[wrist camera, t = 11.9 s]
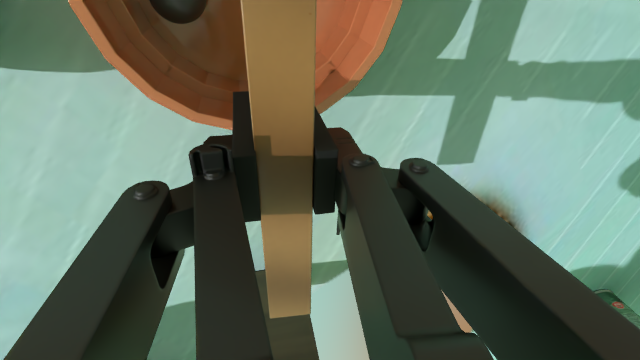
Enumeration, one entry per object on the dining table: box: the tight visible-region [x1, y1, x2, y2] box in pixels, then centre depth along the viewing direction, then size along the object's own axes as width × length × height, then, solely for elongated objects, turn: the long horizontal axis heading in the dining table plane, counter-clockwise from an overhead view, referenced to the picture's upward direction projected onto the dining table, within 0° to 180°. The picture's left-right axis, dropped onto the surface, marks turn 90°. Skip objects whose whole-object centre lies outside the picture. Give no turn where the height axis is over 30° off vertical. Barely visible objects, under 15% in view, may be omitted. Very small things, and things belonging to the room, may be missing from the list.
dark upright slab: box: [255, 270, 319, 360], centre depth 31 cm, size 3×6×10 cm, turn 89°
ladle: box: [240, 0, 317, 318], centre depth 16 cm, size 18×5×12 cm, turn 179°
